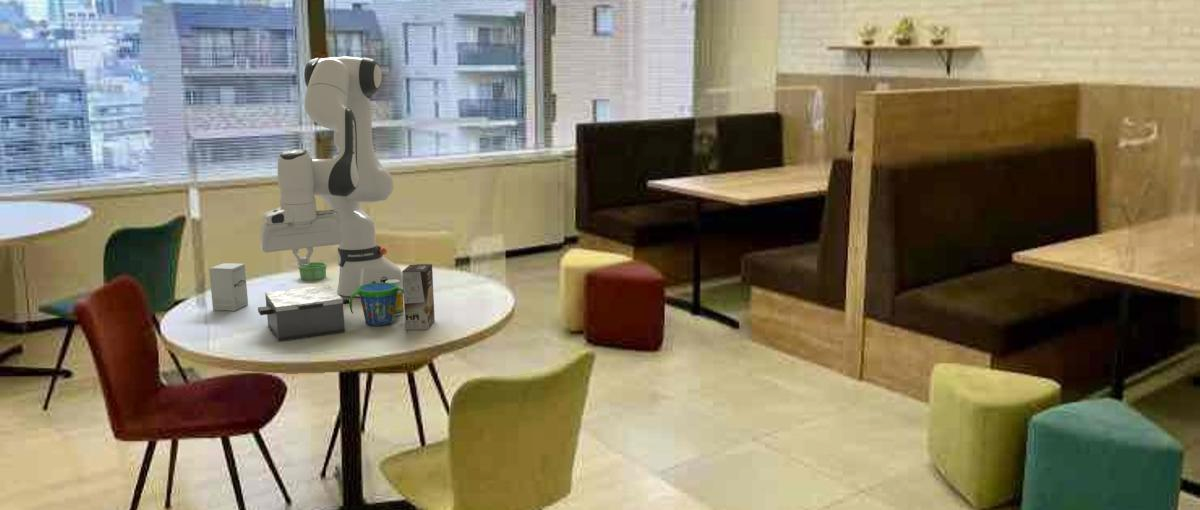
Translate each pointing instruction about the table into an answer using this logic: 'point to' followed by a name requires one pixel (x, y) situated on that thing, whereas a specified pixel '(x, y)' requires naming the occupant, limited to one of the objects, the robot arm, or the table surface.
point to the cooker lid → (303, 298)
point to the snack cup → (377, 302)
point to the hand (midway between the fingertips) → (303, 264)
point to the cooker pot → (305, 321)
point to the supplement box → (228, 286)
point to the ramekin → (313, 271)
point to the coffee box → (418, 296)
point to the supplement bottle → (397, 298)
